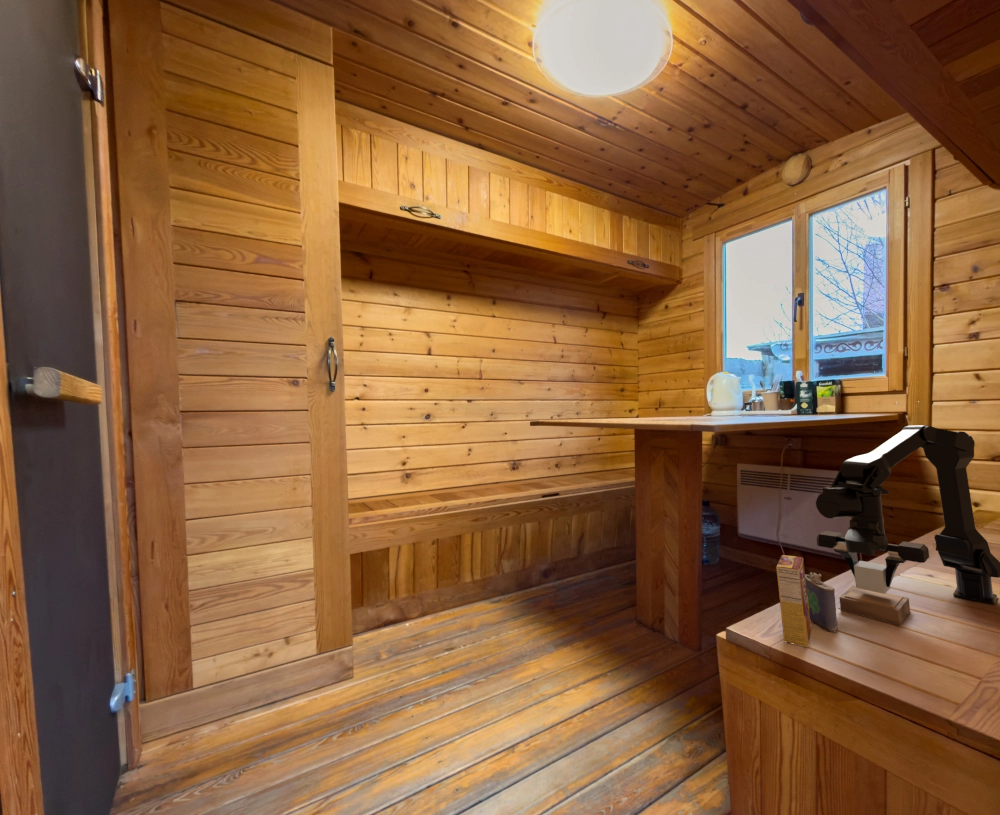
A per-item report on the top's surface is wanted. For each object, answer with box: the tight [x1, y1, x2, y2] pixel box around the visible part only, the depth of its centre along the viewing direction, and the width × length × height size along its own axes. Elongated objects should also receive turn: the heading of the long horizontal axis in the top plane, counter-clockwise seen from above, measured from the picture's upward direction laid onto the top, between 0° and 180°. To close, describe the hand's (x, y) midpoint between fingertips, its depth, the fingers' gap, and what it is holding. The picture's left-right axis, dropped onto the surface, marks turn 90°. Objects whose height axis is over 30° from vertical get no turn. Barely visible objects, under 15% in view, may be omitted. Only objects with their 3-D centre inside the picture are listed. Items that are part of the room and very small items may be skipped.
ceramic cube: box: [854, 560, 891, 594], centre depth 96 cm, size 5×5×5 cm
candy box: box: [775, 554, 812, 648], centre depth 87 cm, size 9×4×15 cm, turn 140°
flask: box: [805, 572, 839, 634], centre depth 92 cm, size 9×3×11 cm, turn 172°
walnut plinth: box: [839, 585, 911, 626], centre depth 96 cm, size 10×10×3 cm
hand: (872, 583), depth 96 cm, fingers closed on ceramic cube, 5 cm apart
